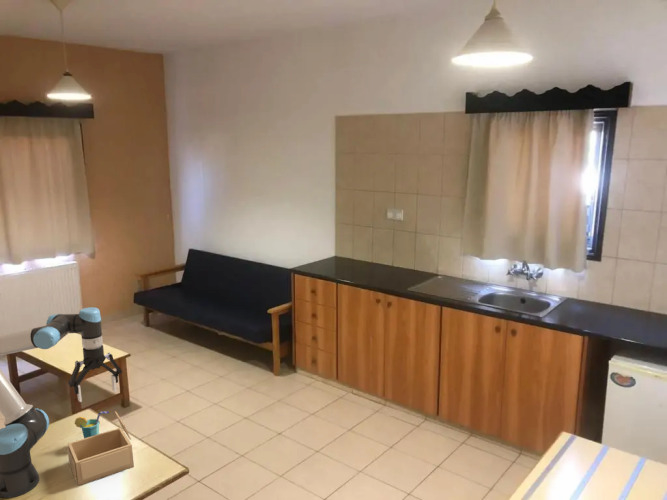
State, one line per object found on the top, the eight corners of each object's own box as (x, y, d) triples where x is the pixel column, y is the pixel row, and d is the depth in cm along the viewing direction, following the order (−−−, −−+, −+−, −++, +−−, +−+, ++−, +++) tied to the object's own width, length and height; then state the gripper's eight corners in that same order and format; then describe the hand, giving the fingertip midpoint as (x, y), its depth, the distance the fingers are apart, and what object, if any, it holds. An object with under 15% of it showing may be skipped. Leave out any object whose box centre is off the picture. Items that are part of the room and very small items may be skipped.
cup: (111, 436, 244) (108, 406, 241) (112, 445, 237) (108, 414, 234) (77, 444, 239) (73, 413, 236) (77, 453, 232) (73, 421, 229)
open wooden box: (77, 487, 208) (74, 464, 206) (68, 465, 223) (66, 443, 221) (134, 467, 221) (132, 445, 219) (122, 447, 235) (120, 426, 233)
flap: (123, 425, 217) (124, 424, 218) (114, 411, 229) (115, 411, 229) (130, 439, 220) (131, 439, 220) (121, 425, 231) (122, 425, 231)
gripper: (61, 357, 204) (67, 408, 208) (127, 341, 220) (131, 389, 224) (56, 351, 209) (61, 401, 213) (120, 336, 225) (124, 383, 229)
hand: (97, 395), depth 219 cm, fingers open, 13 cm apart
